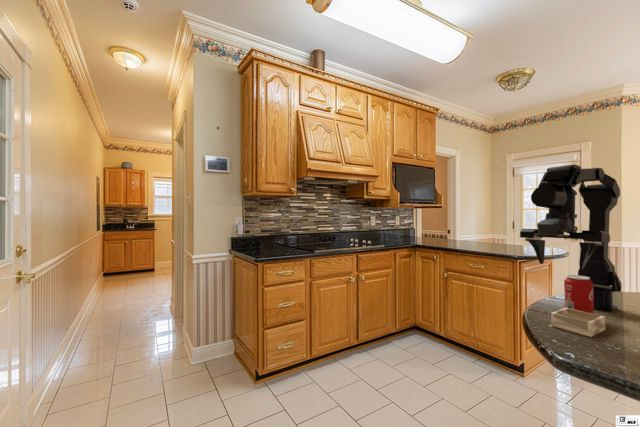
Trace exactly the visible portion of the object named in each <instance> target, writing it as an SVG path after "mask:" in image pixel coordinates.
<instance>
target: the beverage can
mask: <svg viewBox="0 0 640 427" xmlns="http://www.w3.org/2000/svg"><path fill="white" fill-rule="evenodd" d="M563 285H564V286H563V288H564V292H563V293H564V308H570V309H574V310H579V311H583V312H587V313H592V314H595V309H594V296H593V283H592V281H591V280H590V278H589V277H586V276H579V275H578V274H567V275H566V278H565V279H564V281H563Z"/></svg>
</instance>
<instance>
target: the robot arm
mask: <svg viewBox="0 0 640 427" xmlns="http://www.w3.org/2000/svg"><path fill="white" fill-rule="evenodd" d="M597 181H599V183H600V184H598V183H597V184H587V185H586V184H585V183H586V182H588V183H589V182H597ZM579 184H580V185H579ZM577 185H579V188H578V192H577V191H576V190H575V189H574V188H575V187H576V186H577ZM578 193H579V194H580V196H581V197H582V202H583V205H585V207H586V209H587V210H588V211H589V214H588V215H589V216H588V217H589V218H588V219H589V220H588V230H585V229H582V230H581V232H577V230H578V229H577V228H576V227H575V226H576V219H577V218H578V214H576V196H577V195H578ZM620 197H621V189H620V186H619V184H618V182H617V180H616V179H615V178H614V177H611V175H608V174H606V173H605V171H604V168H602V167H591V168H582V166H580V165H577V164H575V163H574V164H567V165H565V164H564V165H559V166H551V167H547V169H546V171H545V172H544V174H543V175H542V177H541V180H540V182H539V184H538V187H536V188H535V189H534V190H533V191H532V193H531V196H530V200H531V202H532V204H533V205H535V206H536V207H539V208H545V209H548V212H546V213H545V218H544V219H541V220H540V221H539V222H537V223H536V226H537V228H522V229H521V230H520V231H519V238H524V242H525V241H526V242H528V243H529V244H530V245H531V246H532V248H533V250H534V252H535V255H536V257H537V259H538V262H539V264H541V265H544V262H545V261H544V260H545V250H546V240H545V239H543V238H548V239H549V238H551V239H553V238H554V239H567V240H568V239H572V240H583V242H582V241H581V242H579V247H580V252H579V254H580V255H579V260H578V261H579V263H578V265H579V269H578V270H577V275H579V276H586V277H589V278H590V280H591V281H592V283H593V296H594V310H600V311H604V312H610V313H611V312H613V311H616V310H618V309H619V306H616V305H614V293H617V292H618V293H621V292H622V282H621V280H620V278H619V276H618V274H617V272H616V267H615V265H614V264H613V262H612V260H610V258H609V244H610V243H611V235H610V216H611V214H610V212H612V210H613V209H614V208H615V207H616V206H617V205H618V200H619V198H620ZM565 233H566V234H565Z"/></svg>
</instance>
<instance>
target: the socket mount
mask: <svg viewBox="0 0 640 427" xmlns="http://www.w3.org/2000/svg"><path fill="white" fill-rule="evenodd" d="M550 322H551V323H550V326H551V327H555V328H558V329H561V330H565V331H568V332H573V333H576V334H579V335H583V336H587V337H589V338H592V337H594V336H596V335H598V334H600V333H602V332H603V331H606V316H605V315H604V316H603V315H600V314H595V313H594V314H592V313H587V312H583V311H579V310H574V309H570V308H565V307H564V308H561V309H559V310H556V311H552V312H550Z"/></svg>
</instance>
